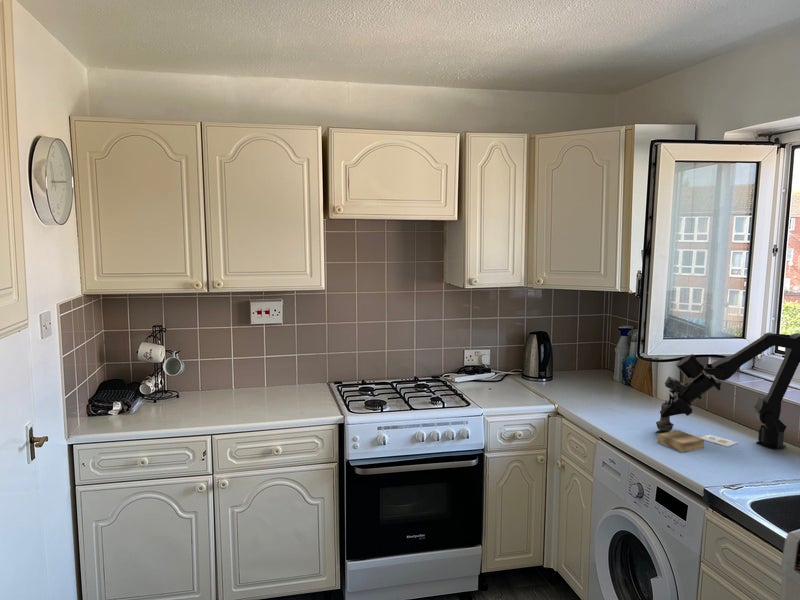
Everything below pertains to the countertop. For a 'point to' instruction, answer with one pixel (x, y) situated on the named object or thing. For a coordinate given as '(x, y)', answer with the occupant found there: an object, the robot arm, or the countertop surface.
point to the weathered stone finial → (664, 421)
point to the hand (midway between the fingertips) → (661, 415)
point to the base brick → (681, 441)
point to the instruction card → (718, 440)
